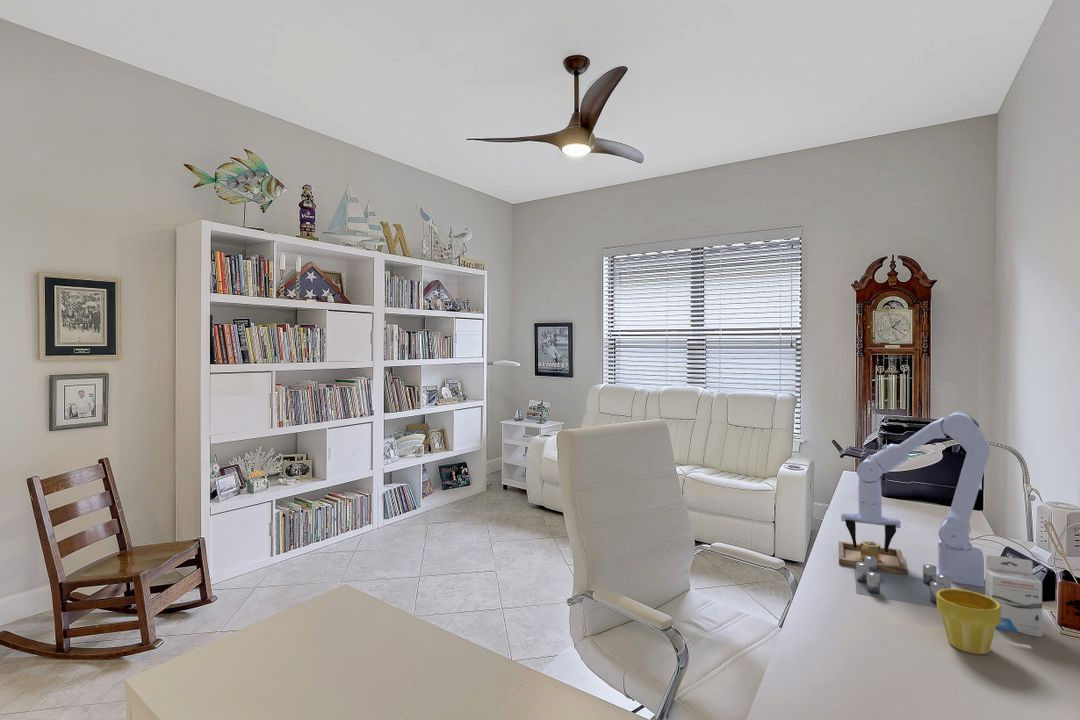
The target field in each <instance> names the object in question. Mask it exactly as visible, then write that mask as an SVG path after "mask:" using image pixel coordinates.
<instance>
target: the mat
mask: <svg viewBox="0 0 1080 720" xmlns="http://www.w3.org/2000/svg"><path fill="white" fill-rule="evenodd" d="M853 571H854V579H855V581H854V582H855V592H856V594H857V595H861V596H867V597H873V598H880V599H885V600H891V601H898V602H901V603H908V604H913V605H917V606H918V605H919V606H924V607H931V608H936V609H937V605H936V604H933V603H931V602H930V585H926V584H924V583H923V577H916V576H910V575H909V576H908V575H904V574H898V573H891V572H885V571H878V570H877V573H878V574H880V594H871V593H869V592H868V591H867V584H865V583H860V582H858V581H857V570H856V567H854V570H853Z"/></svg>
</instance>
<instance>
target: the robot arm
mask: <svg viewBox="0 0 1080 720" xmlns="http://www.w3.org/2000/svg"><path fill="white" fill-rule="evenodd" d="M947 436H949V438H952V439H953V440H955V441H956V442H958V443H959V445H960V446H961V447H962V448H963V450H964V451H965V453H966V454H965V458H964V460H963V464H962V468H961V471H960V474H959V478H958V482H957V484H956V487H955V492H954V496H953V499H952V502H951V506H950V509H949V512H948V515H947V516H946V517H945V518H944V519H942V521H941V524H940V525H941V527H940V528H939V529H938V538H939V539H938V540H937V557H938V558H937V560H938V561H937V568H936V575H937V574H944V575H948V576H950V577H951V583H958V584H964V585H970V586H978V587H985V559H984V553H983V550H982V549H981V548H979V547H975V546H973V544H972V543H970V534H971V526H970V521H971V518H972V514H973V509H974V507H975V504H976V501H977V498H978V494H979V490H980V487H981V482H982V480H983V476H984V473H985V470H986V466H987V465H988V464H987V463H988V460H989V457H990V453H991V446H990V444H989V442H988V440H987V438H986V436H985V434H984V432H983V430H982V428H981V425H980V423H979V422H978V421H977V420H976V419H975V418H974V417H973V416H972V415H970V414H969V413H968V412H964V411H954V412H951V413H950V414H948V415H947V416H946V418H945V417H941V418H939V419H937V420H934V421H933V422H931V423H929V424H927V425H926V426H924V427H923V428H921V429H920V430H918V431H917V432H915V433H914V434H913V435H911V436H910V437H909V438H907V439H905V440H904V441H902V442H901V443H899V444H895V443H890V444H883V445H882V446H881V449H880V450H879V451H878V452H876V453H874V454H873V455H872V454H869V455H868V456H867V457H866V458H867V459H865V460H863V461H861V463H859V465H857V468H856V475H857V476H858V488H857V489H858V490H857V491H858V493H857V495H858V496H857V497H858V513H846V512H845V513H844V512H841V513H840V514H841V516H840V517H841V519H840V520H841V522H845V525H846V528H847V531H848V532H849V534H850V538H851V541H852V543H853V546H854V548H856V544H857V538H856V531H857V530H856V523H860V524H861V523H862V524H867V525H868V524H869V525H876V526H883V527H884V546H883V547H884V550H885V552H888V548H890V544H891V541H892V539H893V537H894V536H895V534H896V532H897V529H901V519H897V518H891V517H886V516H882V515H883V512H882V511H883V510H882V508H883V507H882V506H883V505H882V503H883V502H882V499H883V497H882V483H881V482H882V480H881V477H882V476H883V474H887V473H889V472H891V471H892V470H894V469H895V468H897V467H898V466H900V465H902V464H903V463H906V462H907V460H908V454H910V453H912V452H913V451H914V450H916V449H918V448H920V447H922V446H923V445H924V444H926V443H928V442H930V441H932V440H935V439H946V438H947ZM890 470H891V471H890Z"/></svg>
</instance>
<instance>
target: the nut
mask: <svg viewBox="0 0 1080 720" xmlns="http://www.w3.org/2000/svg"><path fill="white" fill-rule="evenodd" d="M860 544H861V559H863V560H865V556H873V557H876V558H877V562H879V561H880V560H881V554H880V547H881V543H878V542H875V541H873V540H862V541H861V542H860Z"/></svg>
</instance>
